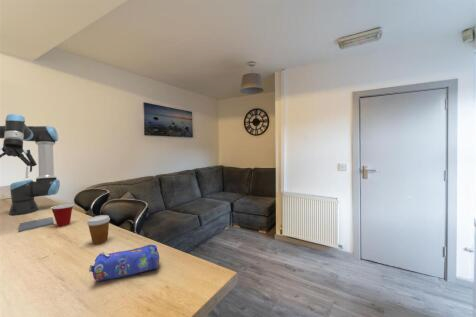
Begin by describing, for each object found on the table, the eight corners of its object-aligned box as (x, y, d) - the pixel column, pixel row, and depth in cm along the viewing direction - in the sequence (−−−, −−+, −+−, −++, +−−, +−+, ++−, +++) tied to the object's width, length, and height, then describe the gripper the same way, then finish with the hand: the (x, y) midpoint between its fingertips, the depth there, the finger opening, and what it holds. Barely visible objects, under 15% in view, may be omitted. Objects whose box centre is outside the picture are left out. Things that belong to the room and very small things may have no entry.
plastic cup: (79, 221, 132) (78, 203, 131) (64, 228, 121) (62, 208, 120) (64, 221, 133) (62, 202, 132) (47, 228, 122) (45, 208, 121)
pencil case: (89, 288, 70) (87, 260, 69) (97, 273, 78) (95, 248, 77) (159, 273, 77) (158, 248, 76) (160, 261, 85) (158, 238, 84)
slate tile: (20, 224, 128) (20, 223, 128) (52, 218, 139) (52, 216, 139) (18, 232, 118) (18, 230, 117) (53, 224, 128) (53, 222, 128)
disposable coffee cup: (100, 247, 98) (98, 222, 97) (83, 245, 100) (81, 221, 99) (115, 237, 107) (114, 215, 106) (100, 236, 109) (98, 214, 108)
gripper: (-18, 132, 105) (-23, 172, 100) (44, 142, 127) (43, 176, 122) (-23, 137, 108) (-29, 176, 103) (38, 146, 130) (37, 179, 125)
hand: (10, 176), depth 112 cm, fingers open, 13 cm apart
